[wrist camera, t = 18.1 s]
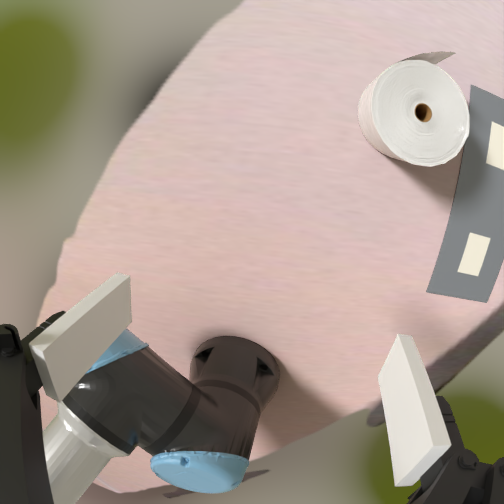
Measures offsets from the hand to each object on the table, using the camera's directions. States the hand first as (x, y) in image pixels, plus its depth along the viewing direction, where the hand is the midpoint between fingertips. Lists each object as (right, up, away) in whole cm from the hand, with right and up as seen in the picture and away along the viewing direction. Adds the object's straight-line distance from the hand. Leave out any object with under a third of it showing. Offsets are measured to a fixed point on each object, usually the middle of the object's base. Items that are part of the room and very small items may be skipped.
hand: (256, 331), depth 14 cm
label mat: (+32, +11, +19) cm, 39 cm away
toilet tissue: (+18, +21, +19) cm, 33 cm away
